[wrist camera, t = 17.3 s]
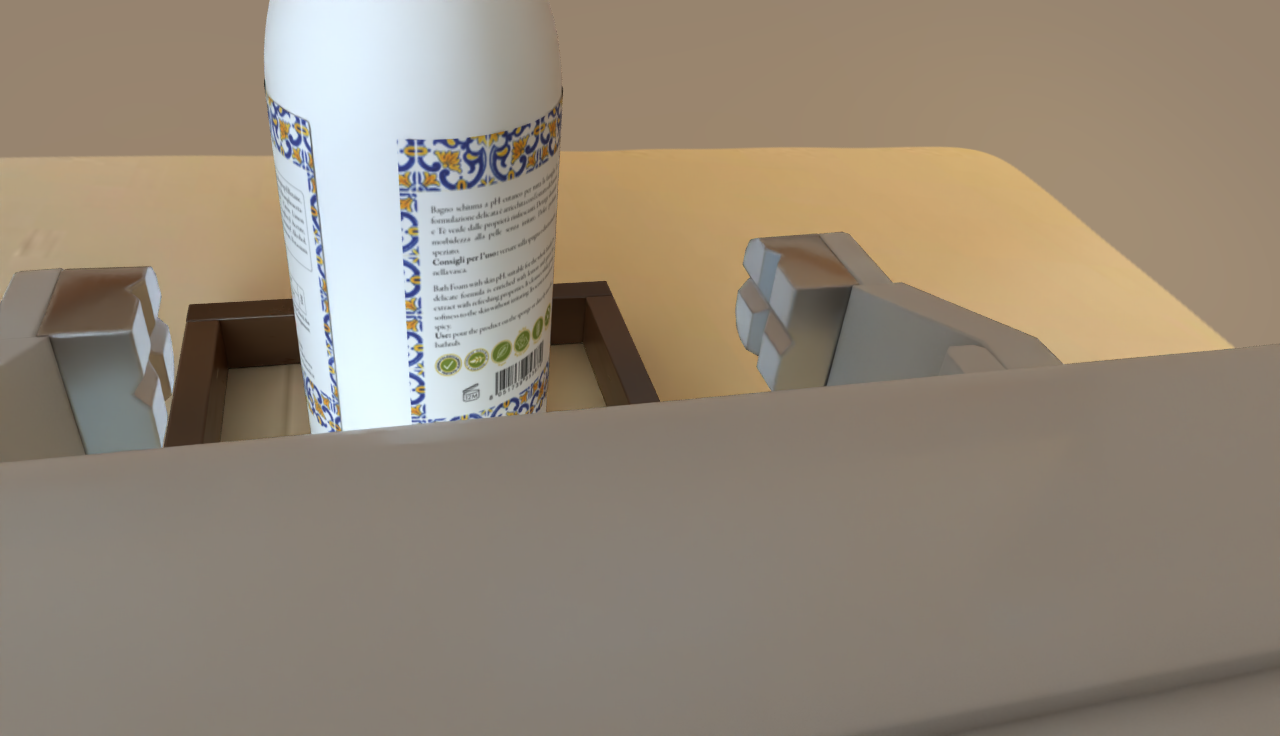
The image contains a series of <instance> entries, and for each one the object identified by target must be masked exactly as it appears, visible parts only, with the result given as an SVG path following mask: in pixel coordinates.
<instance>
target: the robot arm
mask: <svg viewBox="0 0 1280 736" xmlns="http://www.w3.org/2000/svg"><path fill="white" fill-rule="evenodd" d="M743 266H744V268H745V269H746V271H747V273H748V274H749V276H750V278H749V279H748V280H747V281H746V282H745V283H744V284H743V286H742V287H741V288H740V289H739V290H738V295H737V302H736V309H735V313H736V326H737V330H738V334H739V337H740V340H741V342H742V343H743V345H744V347H745V349H746V350H748V351H750V352H752V353H753V354H755V355H757V356H759V357H758V362H757V369H758V370H759V372H760V373H761V375H762V377H763V378H764V380H765V382H766V383H767V385H768V386H769V388H770V390H771V392H760V393H749V394H738V395H728V396H717V397H706V398H695V399H685V400H674V401H663V402H652V403H642V404H631V405H620V406H609V407H598V408H588V409H577V410H566V411H555V412H544V413H533V414H522V415H511V416H501V417H490V418H479V419H468V420H457V421H446V422H435V423H424V424H414V425H403V426H392V427H381V428H370V429H359V430H348V431H337V432H327V433H316V434H305V435H294V436H283V437H272V438H261V439H250V440H240V441H229V442H218V443H207V444H196V445H185V446H175V447H164V448H162V447H163V442H164V436H165V431H166V426H167V420H168V414H167V410H166V406H165V400H167V399H168V398H169V397H170V396H172V392H173V386H174V356H173V348H172V341H171V337H170V332H169V327H168V325H166V324H165V323H164V322H163V321H162V320H160V319H159V318H158V312H159V307H160V302H161V297H162V296H161V292H160V288H159V284H158V281H157V277H156V274H155V272H154V270H153V268H152V267H151V266H145V267H112V268H79V269H65V270H63V269H62V268H58V269H43V270H29V271H20V272H16V273H15V274H14V275H13V277H12V279H11V281H10V283H9V285H8V287H7V290H6V292H5V294H4V296H3V298H2V300H1V303H0V736H1280V344H1271V345H1263V346H1253V347H1243V348H1234V349H1224V350H1214V351H1203V352H1192V353H1181V354H1170V355H1159V356H1148V357H1137V358H1126V359H1115V360H1104V361H1093V362H1083V363H1072V364H1063V363H1062V362H1061V361H1060V360H1059V359H1058V358H1057V357H1056V356H1055V355H1054V354H1053V353H1052V352H1051V351H1050V350H1049V349H1048V348H1047V347H1046V346H1045V345H1044V344H1043V343H1042V342H1041V341H1039V340H1038V339H1037V338H1036V337H1033V336H1031V335H1028V334H1026V333H1024V332H1021V331H1019V330H1016V329H1014V328H1011V327H1009V326H1007V325H1004V324H1002V323H999V322H997V321H994V320H992V319H990V318H987V317H985V316H982V315H980V314H977V313H975V312H973V311H970V310H968V309H965V308H963V307H961V306H958V305H956V304H953V303H951V302H948V301H946V300H944V299H941V298H939V297H936V296H934V295H931V294H929V293H927V292H924V291H922V290H919V289H917V288H914V287H912V286H910V285H907V284H905V283H902V282H901V283H893V282H892V281H891V280H890V279H889V278H888V277H887V276H886V274H885V273H884V272H883V271H882V270H881V269H880V268H879V267H878V266H877V264H876V263H875V262H874V261H873V260H872V259H871V258H870V257H869V256H868V254H867V253H866V252H865V251H864V250H863V249H862V248H861V247H860V245H859V244H858V243H857V242H856V241H855V240H854V239H853V238H852V237H851V235H850V234H847V233H844V232H834V233H823V234H806V235H793V236H779V237H765V238H756V239H751V240H750V241H749V243H748V246H747V248H746V250H745V256H744V261H743Z"/></svg>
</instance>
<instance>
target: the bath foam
mask: <svg viewBox="0 0 1280 736" xmlns="http://www.w3.org/2000/svg"><path fill="white" fill-rule="evenodd" d="M264 73H265V79H264V87H265V94H266V102H267V110H268V117H269V125H270V132H271V140H272V147H273V155H274V162H275V170H276V178H277V185H278V193H279V200H280V208H281V215H282V223H283V230H284V238H285V245H286V253H287V261H288V268H289V276H290V283H291V291H292V298H293V306H294V313H295V321H296V329H297V336H298V344H299V351H300V359H301V366H302V374H303V381H304V389H305V396H306V401H307V407H308V414H309V422H310V429H311V434H316V433H327V432H337V431H348V430H359V429H370V428H381V427H392V426H403V425H414V424H424V423H435V422H446V421H457V420H468V419H479V418H490V417H501V416H511V415H522V414H533V413H544V412H546V404H547V390H548V376H549V356H550V336H551V317H552V297H553V277H554V257H555V238H556V218H557V198H558V178H559V159H560V138H561V119H562V99H563V87H562V73H561V60H560V50H559V43H558V36H557V31H556V27H555V22H554V17H553V14H552V10H551V7H550V4H549V0H270V2H269V7H268V14H267V21H266V29H265V42H264Z"/></svg>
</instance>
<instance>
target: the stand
mask: <svg viewBox="0 0 1280 736" xmlns="http://www.w3.org/2000/svg"><path fill="white" fill-rule="evenodd" d="M581 342H583V345H584V347H585V350H586V352H587V355H588V358H589V360H590V363H591V366H592V368H593V371H594V374H595V376H596V379H597V382H598V384H599V387H600V390H601V392H602V395H603V397H604V400H605V403H606V405H607V407H609V406H620V405H631V404H642V403H652V402H660V400H659V398H658V395H657V393H656V391H655V389H654V387H653V384H652V382H651V380H650V378H649V375H648V373H647V371H646V369H645V366H644V364H643V362H642V360H641V358H640V355H639V353H638V351H637V349H636V346H635V344H634V342H633V340H632V338H631V335H630V333H629V331H628V329H627V326H626V324H625V322H624V320H623V318H622V315H621V313H620V311H619V309H618V306H617V304H616V302H615V300H614V297H613V295H612V293H611V291H610V288H609V286H608V284H607V282H606V281H596V282H579V283H561V284H553V297H552V317H551V336H550V345H554V344H567V343H581ZM294 363H301V359H300V351H299V344H298V336H297V329H296V321H295V313H294V306H293V299H278V300H261V301H243V302H225V303H208V304H191V305H189V308H188V313H187V319H186V326H185V332H184V337H183V343H182V348H181V354H180V360H179V365H178V371H177V376H176V382H175V387H174V393H173V398H172V404H171V410H170V415H169V421H168V426H167V432H166V437H165V443H164V447H175V446H185V445H196V444H207V443H218V442H220V438H221V429H222V420H223V411H224V402H225V393H226V384H227V375H228V368H240V367H253V366H267V365H281V364H294Z"/></svg>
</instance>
